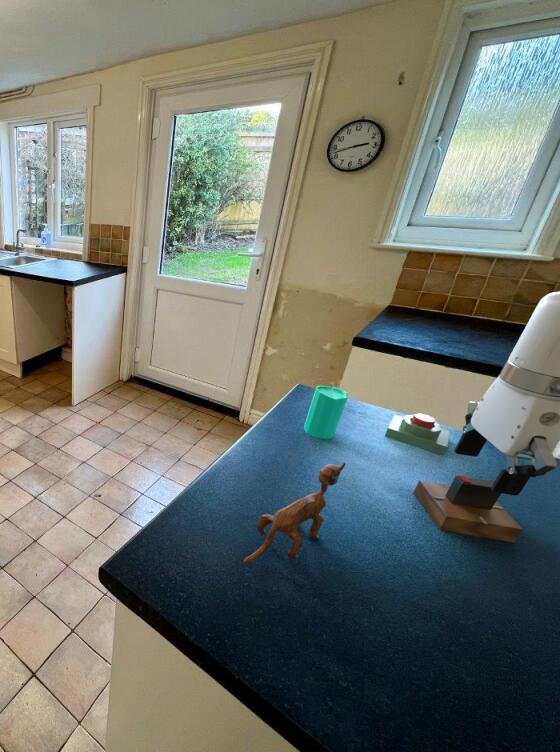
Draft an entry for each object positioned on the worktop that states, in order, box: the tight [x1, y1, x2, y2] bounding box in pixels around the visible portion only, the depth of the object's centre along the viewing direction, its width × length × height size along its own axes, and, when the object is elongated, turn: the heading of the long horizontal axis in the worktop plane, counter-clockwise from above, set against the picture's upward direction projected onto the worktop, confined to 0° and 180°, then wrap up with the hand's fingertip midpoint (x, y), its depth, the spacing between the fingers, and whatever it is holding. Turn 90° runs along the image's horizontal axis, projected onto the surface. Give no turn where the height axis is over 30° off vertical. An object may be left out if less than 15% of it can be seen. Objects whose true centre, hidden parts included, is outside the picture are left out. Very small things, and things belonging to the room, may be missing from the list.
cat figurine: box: [243, 462, 346, 565], centre depth 63 cm, size 18×7×14 cm, turn 118°
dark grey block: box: [445, 474, 502, 510], centre depth 69 cm, size 6×2×5 cm, turn 74°
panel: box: [412, 480, 523, 544], centre depth 71 cm, size 10×10×3 cm
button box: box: [384, 414, 452, 456], centre depth 91 cm, size 10×8×4 cm
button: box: [411, 412, 436, 428], centre depth 90 cm, size 4×4×2 cm
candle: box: [303, 384, 349, 440], centre depth 92 cm, size 6×6×12 cm
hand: (483, 472), depth 67 cm, fingers open, 9 cm apart
